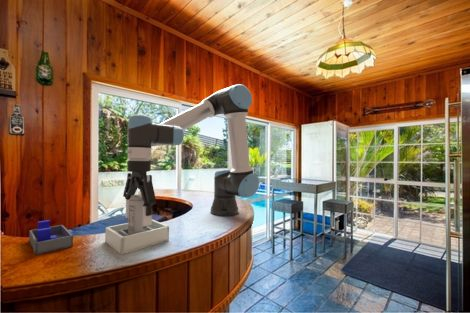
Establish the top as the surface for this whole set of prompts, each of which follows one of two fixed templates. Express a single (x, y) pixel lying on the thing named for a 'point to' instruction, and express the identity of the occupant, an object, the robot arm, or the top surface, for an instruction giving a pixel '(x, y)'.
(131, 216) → the energy drink can
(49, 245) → the clip tray
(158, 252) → the top surface
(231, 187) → the robot arm
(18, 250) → the top surface
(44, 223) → the cable clip
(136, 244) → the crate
